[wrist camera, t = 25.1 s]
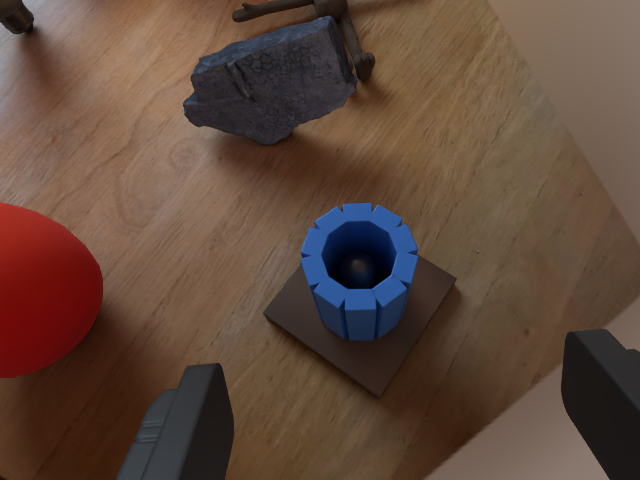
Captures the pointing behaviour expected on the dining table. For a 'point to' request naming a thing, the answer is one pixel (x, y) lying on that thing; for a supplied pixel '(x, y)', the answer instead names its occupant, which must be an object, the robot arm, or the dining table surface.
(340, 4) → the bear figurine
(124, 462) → the robot arm
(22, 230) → the tomato
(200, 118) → the stone
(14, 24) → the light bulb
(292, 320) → the peg stand
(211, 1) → the dining table surface
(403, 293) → the blue notched tube
